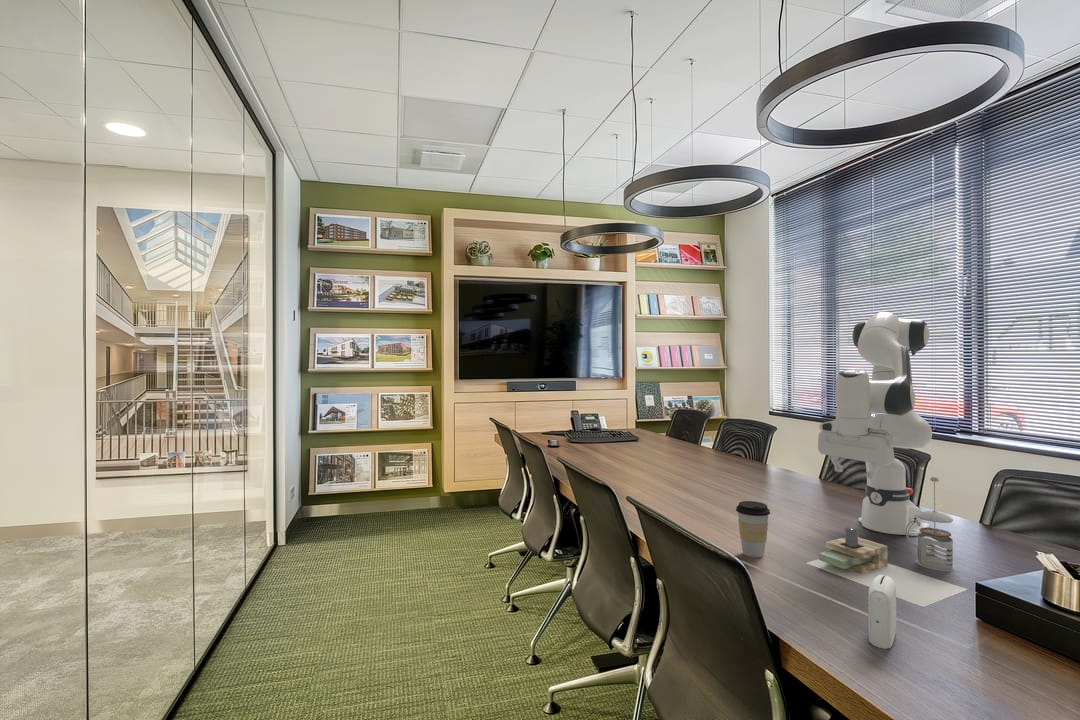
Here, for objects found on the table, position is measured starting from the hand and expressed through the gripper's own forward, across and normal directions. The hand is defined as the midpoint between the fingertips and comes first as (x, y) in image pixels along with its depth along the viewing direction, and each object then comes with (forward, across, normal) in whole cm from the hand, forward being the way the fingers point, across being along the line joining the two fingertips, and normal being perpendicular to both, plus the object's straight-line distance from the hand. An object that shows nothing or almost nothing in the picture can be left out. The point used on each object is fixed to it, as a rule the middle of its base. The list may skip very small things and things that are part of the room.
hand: (854, 474), depth 149 cm
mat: (+25, -10, +6) cm, 27 cm away
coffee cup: (+24, +17, +22) cm, 37 cm away
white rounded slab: (+24, -28, +36) cm, 52 cm away
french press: (+26, -12, -14) cm, 32 cm away
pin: (+24, -2, +6) cm, 25 cm away
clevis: (+24, -2, +6) cm, 25 cm away
